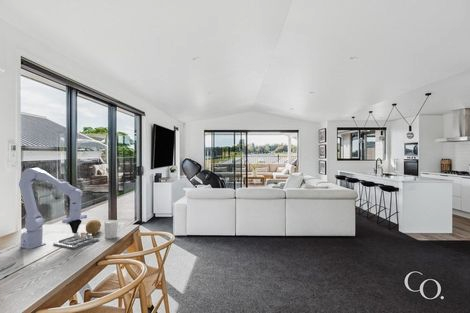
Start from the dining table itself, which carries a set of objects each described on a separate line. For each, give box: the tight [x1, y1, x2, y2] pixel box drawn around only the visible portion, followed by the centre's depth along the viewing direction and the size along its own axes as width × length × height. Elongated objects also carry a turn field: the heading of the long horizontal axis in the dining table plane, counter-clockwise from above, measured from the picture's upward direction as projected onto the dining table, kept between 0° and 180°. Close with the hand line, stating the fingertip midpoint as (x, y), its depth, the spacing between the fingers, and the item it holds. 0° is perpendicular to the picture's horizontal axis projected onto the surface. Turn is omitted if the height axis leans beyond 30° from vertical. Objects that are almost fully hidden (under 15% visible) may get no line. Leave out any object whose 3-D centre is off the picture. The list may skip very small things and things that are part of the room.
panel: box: [53, 231, 100, 250], centre depth 162 cm, size 17×16×5 cm
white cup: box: [104, 219, 119, 239], centre depth 174 cm, size 8×8×10 cm
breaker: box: [79, 231, 87, 239], centre depth 165 cm, size 3×2×4 cm
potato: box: [85, 219, 102, 236], centre depth 181 cm, size 9×16×9 cm, turn 17°
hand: (74, 232), depth 160 cm, fingers closed
